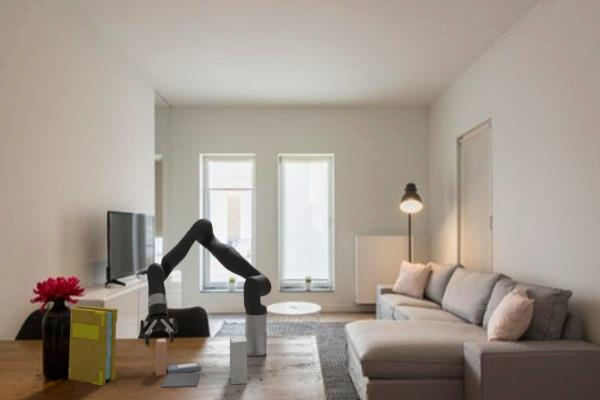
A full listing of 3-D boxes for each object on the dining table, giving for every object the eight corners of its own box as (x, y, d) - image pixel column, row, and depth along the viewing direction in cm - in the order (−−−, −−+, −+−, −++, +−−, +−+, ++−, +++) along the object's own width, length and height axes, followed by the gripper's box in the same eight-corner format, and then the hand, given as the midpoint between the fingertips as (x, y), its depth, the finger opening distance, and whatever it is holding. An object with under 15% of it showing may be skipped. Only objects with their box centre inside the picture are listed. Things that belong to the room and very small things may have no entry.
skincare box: (247, 384, 152) (248, 341, 153) (230, 385, 151) (231, 342, 152) (245, 375, 160) (246, 335, 161) (228, 376, 159) (229, 335, 160)
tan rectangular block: (165, 369, 165) (165, 338, 165) (166, 374, 160) (167, 341, 161) (155, 371, 164) (156, 338, 164) (156, 375, 159) (157, 342, 159)
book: (115, 378, 155) (117, 308, 156) (101, 385, 149) (103, 312, 150) (78, 372, 161) (81, 305, 162) (63, 378, 155) (66, 308, 156)
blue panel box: (198, 365, 170) (198, 361, 170) (200, 370, 165) (200, 366, 165) (167, 369, 165) (167, 365, 165) (168, 374, 161) (168, 369, 161)
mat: (200, 373, 161) (200, 372, 161) (197, 386, 149) (197, 385, 149) (167, 374, 160) (167, 373, 160) (161, 387, 148) (161, 386, 148)
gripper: (174, 310, 183) (177, 346, 173) (139, 313, 178) (140, 350, 167) (176, 300, 178) (179, 337, 168) (139, 303, 173) (140, 341, 162)
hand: (159, 343), depth 167 cm, fingers open, 8 cm apart
